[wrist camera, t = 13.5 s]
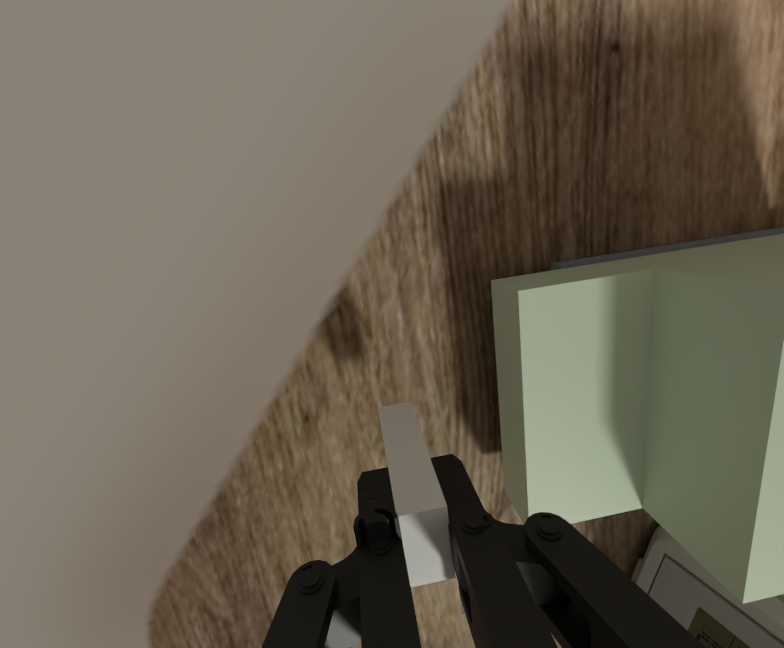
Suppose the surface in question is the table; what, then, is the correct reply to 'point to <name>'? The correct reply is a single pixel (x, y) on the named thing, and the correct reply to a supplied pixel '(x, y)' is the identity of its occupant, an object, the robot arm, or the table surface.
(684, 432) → the sage cover
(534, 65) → the table surface
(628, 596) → the robot arm
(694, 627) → the digital clock
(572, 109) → the table surface
